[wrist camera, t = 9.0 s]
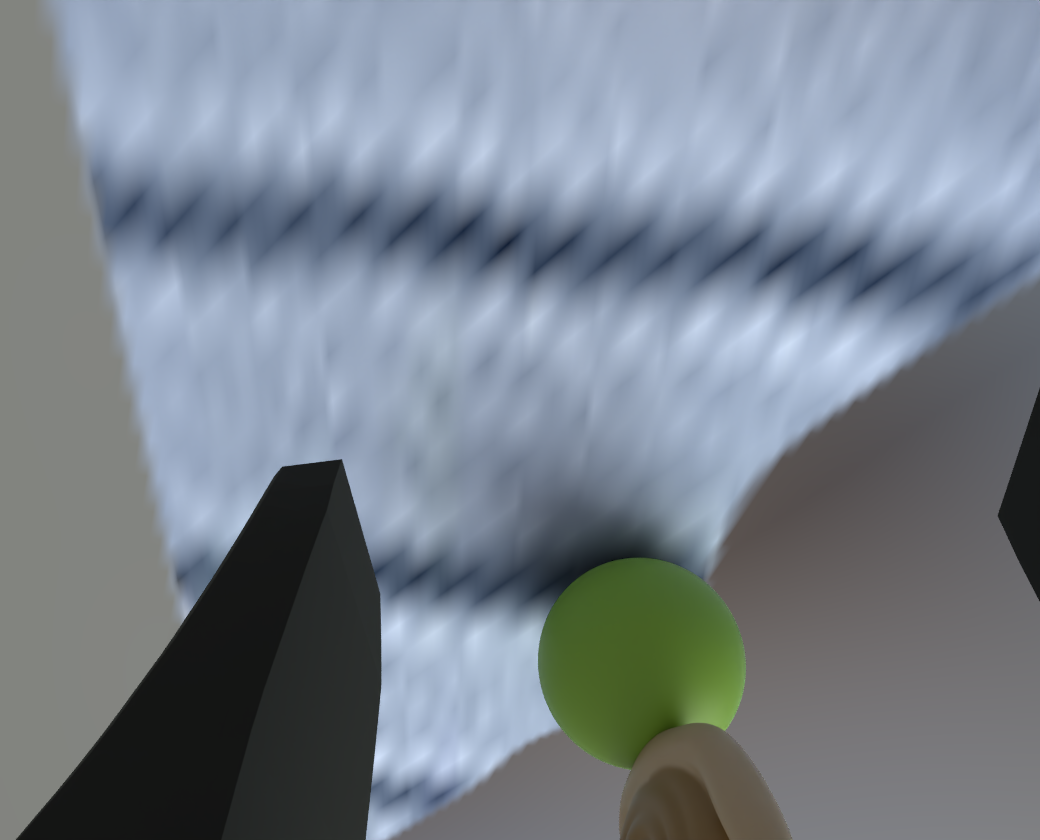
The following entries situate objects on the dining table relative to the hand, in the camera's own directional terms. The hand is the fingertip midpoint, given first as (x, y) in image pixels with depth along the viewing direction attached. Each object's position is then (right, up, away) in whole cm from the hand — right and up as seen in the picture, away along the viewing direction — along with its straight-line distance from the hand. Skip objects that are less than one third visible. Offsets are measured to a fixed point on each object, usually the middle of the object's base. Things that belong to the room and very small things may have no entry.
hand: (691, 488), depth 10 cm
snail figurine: (+1, -3, +16) cm, 17 cm away
